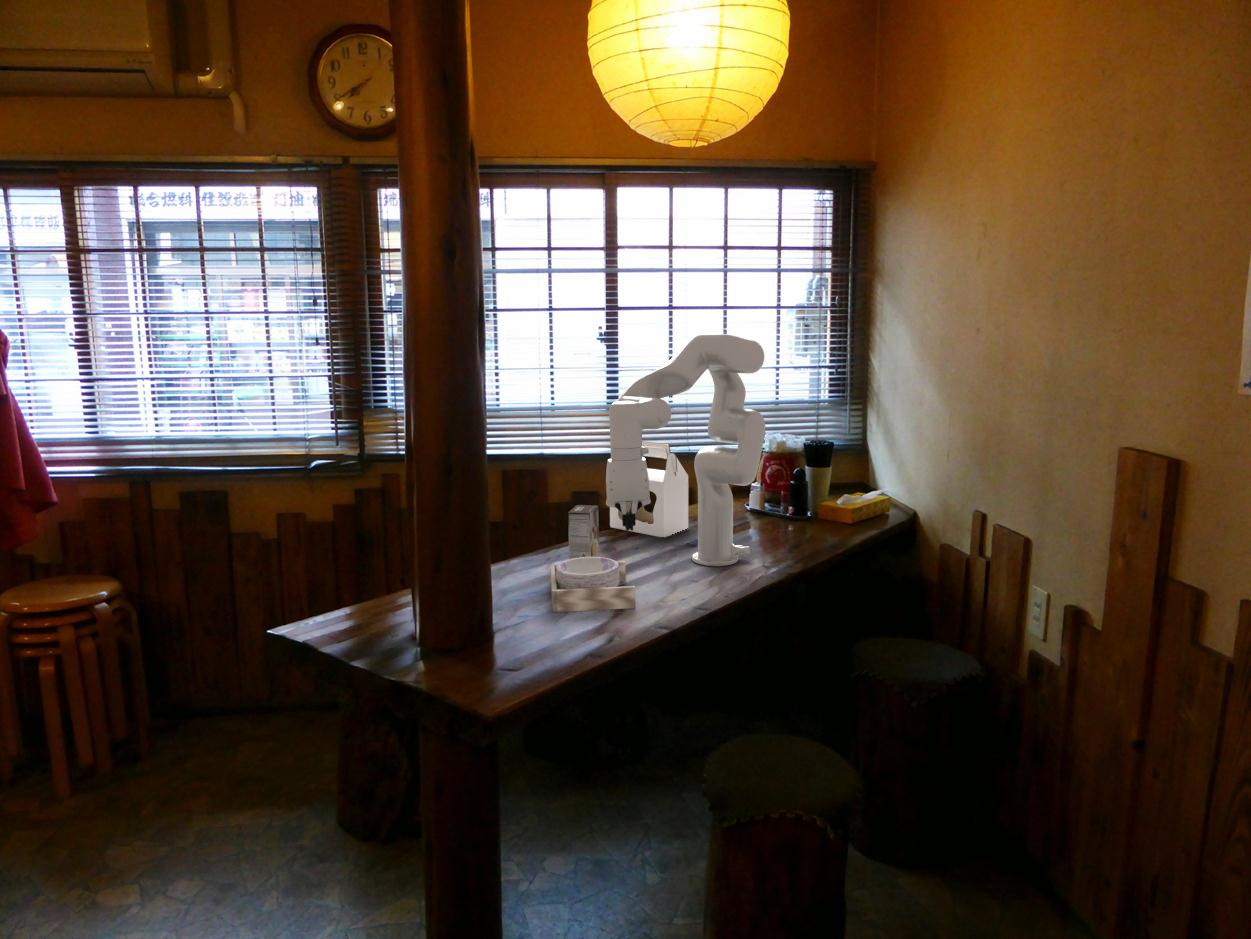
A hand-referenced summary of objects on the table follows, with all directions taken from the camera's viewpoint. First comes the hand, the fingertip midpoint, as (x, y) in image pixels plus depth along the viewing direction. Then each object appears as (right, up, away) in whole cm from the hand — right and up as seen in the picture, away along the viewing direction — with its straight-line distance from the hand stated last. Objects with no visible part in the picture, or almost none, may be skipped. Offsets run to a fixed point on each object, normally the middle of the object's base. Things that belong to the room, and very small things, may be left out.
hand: (629, 528), depth 194 cm
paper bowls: (-10, -17, +1) cm, 19 cm away
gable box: (+7, -5, +65) cm, 65 cm away
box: (-9, -16, +1) cm, 18 cm away
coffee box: (-12, -12, +25) cm, 30 cm away
